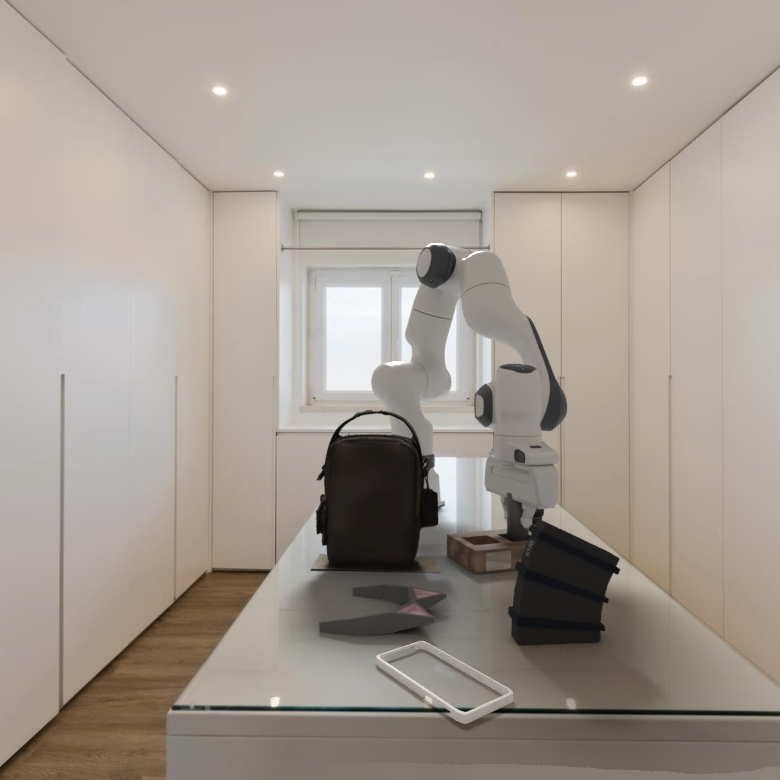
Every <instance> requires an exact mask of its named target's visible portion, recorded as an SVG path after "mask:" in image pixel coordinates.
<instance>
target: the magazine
mask: <svg viewBox="0 0 780 780" xmlns="http://www.w3.org/2000/svg"><path fill="white" fill-rule="evenodd" d="M528 530H529V532H531V536H530V538H529V540H528V542H527V544H526V546H525V550H524V553H523V557H522V561H521V562H519V561H517V562H516V566H515V569H516V571H517V575H516V581H515V585H514V590H513V600H512V606H511V605H509V606H508V608H507V611H508V612H507V614H508V616H509V617H510V619H511V637H512V638H513V639H514V641H515V642H516V643H517V645H520V646H521V645H522V646H523V645H524V646H525V645H526V646H527V645H547V644H548V645H551V644H552V645H553V644H575V643H577V644H578V643H579V644H581V643H600V642H601V639H602V638H601V633H602V632H605V631H606V625H605V624H603V623H602V613H603V605H604V603H605V604H609V602H610V599H609V597H607V596H606V594H607V589H608V585H609V583H610V581H611V579H612V577H613V575H614V574H615V575H617V576H619V573H620V572H621V568H619V567H618V564H619V561H620V559H621V558H620V557H619V556H616V555H615V554H613V553H612V552H610V551H608V550H606V549H603V548H602V547H600V546H598V545H595V544H593V543H591V542H590V541H587V540H585V539H582V538H580V537H578V536H576V535H574V534H572V533H569V532H568V531H566V530H563V529H561V528H559V527H557V526H555V525H553V524H551V523H548V522H547V521H544V520H543V519H542V520H541V519H538V520H537V523H536V524H532V525H530V527H529V529H528Z"/></svg>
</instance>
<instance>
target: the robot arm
mask: <svg viewBox="0 0 780 780" xmlns="http://www.w3.org/2000/svg"><path fill="white" fill-rule="evenodd" d="M415 268H416V270H415V271H416V276H417V278H418V279H417V280H418V281H419V283H420V284H419V286H418V289H417V292H416V294H415V296H414V299H413V302H412V307H411V308H410V309H411V310H410V314H409V317H408V320H407V324H406V328H405V332H404V338H405V340H406V342H407V344H409V345H410V347H411V358H410V361H399V360H396V361H395V360H394V361H390V362H389V361H388V362H385V363H382V364H379V365H378V366H376V368H375V369H374V371H373V372H372V375H371V379H370V380H371V381H370V382H371V383H370V385H371V389H372V392H373V394H374V396H375V397H376V398H378V399H379V401H380V402H381V403H382V404H383V406H384V408H385V409H386V410H385V411H389V412H393V413H396V414H398V415H400V416H402V417H403V418H405V419H406V420H407V421H408V422H409V423H410V424H411V425H412V427H413V428H414V430H415V432H416V434H417V436H418V439H419V443H420V447H421V452H422V457H423V462H424V461H425V459H426V458H427V457H430V461H429V465H428V467H427V468H426V469H427V471H428V481H429V482H428V483H429V489H432V490H433V491H434V492H437V493H438V508H439V507H440V506H444V505H446V502H445V501H446V500H445V499H442V498H441V486H440V476H439V473H438V472H436V471H435V469H434V468H435V466H436V465H435V463H436V458H435V454H434V427H433V424H432V422H431V421H430V420H429V419H427V418H426V417H425V415H424V413H423V410H422V408H421V407H422V406H421V403H431V402H435V401H438V400H441V399H444V398H446V397H447V395H448V394H449V393H450V391H451V388H452V377H451V374H450V372H449V370H448V369H447V366H446V359H445V356H446V355H445V353H446V345H447V341H448V337H449V333H450V329H451V326H452V322H453V319H454V315H455V311H456V307H457V304H458V302H459V300H460V302H461V309H462V313H463V318H464V320H465V322H466V325H467V326H468V327H469V328H470V329H471V330H472V331H474V333H476V334H478V335H480V336H481V337H485V338H487V339H489V340H493V341H496V342H499V343H502V344H503V345H506V346H508V347H510V348H511V349H514V350H515V352H516V353H517V354H518V355H519V356H520V359H521V360H522V364H521V363H506V364H502V365H499V366H498V367H497V369H496V372H495V377H494V378H493V379H492V380H491V381H490V382H487V383H484V384H482V386H479V388H478V390H477V391H476V392H475V393H474V401H473V402H474V405H473V406H474V407H473V408H474V411H473V412H474V418H475V419H476V420H477V422H478V423H479V424H480V425H482V426H483V427H484V428H486V429H491V430H492V429H493V430H494V433H493V446H492V448H491V449H490V451H489V455H488V456H487V458H486V460H485V461H486V462H485V469H484V487H485V490H486V492H489V493H492V494H495V495H497V496H500V502H501V507H502V509H503V512H504V513H503V515H504V516H503V517H504V520H506V521H507V492H508V493H511V494H512V498H513V500H515V501H518V502H520V503H522V509H524V511H523V515H522V517H519V520H520V523H519V524H520V526H522V527H524V528H529V527H530V525H533V524H532V518H533V515H534V513H535V511H536V508H538V509H544V510H546V509H547V510H548V509H554V508H555V507H556V505H557V504H558V502H559V501H558V500H559V472H558V469H557V467H556V466H555V465H557V464H558V463H559V461H560V456H559V455H560V454H559V452H557V450H555V449H554V448H553V447H551V446H549V444H547V443H546V441H543V432H551V431H553V430H555V429H556V428H558V426H560V424H561V423H562V422H563V421H564V419H565V418H566V416H567V413H568V401H567V398H566V394H565V392H564V391H563V389H562V386H561V385H560V383H559V382H558V379H557V378H556V376H555V374H554V370H553V368H552V366H551V363H550V360H549V358H548V356H547V353H546V350H545V347H544V345H543V342H542V339H541V337H540V335H539V332H538V330H537V328H536V325H535V323H534V322H533V320H532V318H531V317H529V316H528V315H526V314H525V313H524V312H523V311H522V310H521V309H520V308H519V307H518V305H517V304H516V302H515V300H514V298H513V295H512V290H511V285H510V281H509V278H508V274H507V272H506V268H505V266H504V264H503V262H502V260H501V258H500V257H499V256H498V255H497V254H496V253H495V252H492V251H488V250H480V251H476V250H472V249H469V248H462V247H458V246H451V245H446V244H444V243H437V242H436V243H435V242H434V243H429V244H428V245H426V246H425V247H424V248H423V249H422V250H421V251H420V254H418V257H417V262H416V267H415ZM388 417H389V418H388V419H389V423H390V426H391V429H390V430H391V434H394V435H399V436H403V437H409V438H412V436H413V435H412V433H411V431H410V429H409V428H408V427H407V425H406V424H405V423H404V422H402V421H401V420H399V419H397V418H395V417H393V416H390V415H388ZM427 460H428V459H427ZM426 464H427V461H426V463H425V464H424V467H425V466H426ZM425 476H426V475H425ZM426 479H427V477H426ZM426 488H427V484H426V481H425V478H424V489H426Z"/></svg>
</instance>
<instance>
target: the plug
mask: <svg viewBox="0 0 780 780" xmlns="http://www.w3.org/2000/svg"><path fill="white" fill-rule="evenodd" d="M523 511H524V509H522V503H520V502H518V501H515V500H513V498H512V494H511V493H508V492H507V520H506V529H507V539H508V540H510V541H512V542H515V541H525V540H529V532H530V531H529V530H528V529H529V528H524V527H522V526H520V524H519V523H520V520H519V517H522V515H523Z"/></svg>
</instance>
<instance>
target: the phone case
mask: <svg viewBox="0 0 780 780" xmlns="http://www.w3.org/2000/svg"><path fill="white" fill-rule="evenodd" d="M412 647H413V648H414V651H418V650H424V651H426V652H429V653H430V654H432V655H434V656H436V657H437V658H439V659H441V660H442V661H444V662H446V663H448V664H449V665H451V666H452V667H454V668H456V669H458V670H459V671H462V672H463V673H464V674H466V675H468V676H470V677H472V678H473V679H475V680H476V681H478V682H480V683H482V684H483V685H485V686H487V687H489V688H490V689H493V690H494V691H495V692H497V693H499V694H501V696H499V697H496V698H495V699H492V700H489V701H488V702H485V703H483V704H481V705H479V706H476V707H474V708H473V709H470V710H468V711H462V710H460V709H458V708H456V707H455V706H453V705H451V704H450V703H449V702H447V701H445V700H444V699H442V698H441V697H439V696H438V695H436V693H434V692H432V691H431V690H429V689H427V688H426V687H424V686H423V685H421V684H420V683H419V682H417V681H416V680H414V679H412V677H410V676H408V675H406V674H405V673H403V672H402V671H400V670H399V669H397V668H396V667H394V666H393V665H391V664H390V663H388V662H387V661H385V657H386V656H389V655H392V654H394V653H398V652H401V651H404V650H407V649H411V648H412ZM375 657H376V658H375V659H376V660H375V661H376V662H375V664H376V666H377V667H379V668H380V669H381V670H382V671H384V672H385V673H387V674H389V676H391V677H393V678H394V679H395V680H396V681H398V682H400V684H403V685H404V686H405V687H407V688H409V689H410V690H411V691H413V692H414V693H416V694H417V695H418V696H420V697H421V698H425V697H426V696H427V697H428V698H430V699H431V700H433V701H434V702H436V703H437V704H438V705H440V706H442V707H443V708H444V709H445V710H447V711H449V716H450V718H452V719H453V720H455V721H456V722H458V723H460V724H465V725H467V724H469V723H471V722H474V721H476V720H477V719H480V718H481V717H484V716H487V715H489V714H491V713H493V712H494V711H495V712H496V711H497V710H500V709H501V708H503V707H505V706H507V705H510V704H511V703H512V704H513V702H514V692H513V690H511V688H509V687H508V686H506V685H504V684H502V683H500V682H499V681H497V680H495V679H493V678H492V677H490V676H487V675H486V674H484V673H482V672H481V671H479V670H478V669H475V668H473V666H470V665H468V664H467V663H464V662H463V661H461V660H460V659H457V658H456V657H454V656H452V655H451V654H449V653H447V652H445V651H444V650H442V649H440V648H438V647H437V646H436V645H435V646H434V645H432V643H429V642H427V641H424V640H418V641H416V642H413V643H410V644H407V645H403V646H401V647H397V648H394V649H392V650H389V651H385V652H383V653H380V654H377V655H376V656H375Z"/></svg>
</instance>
